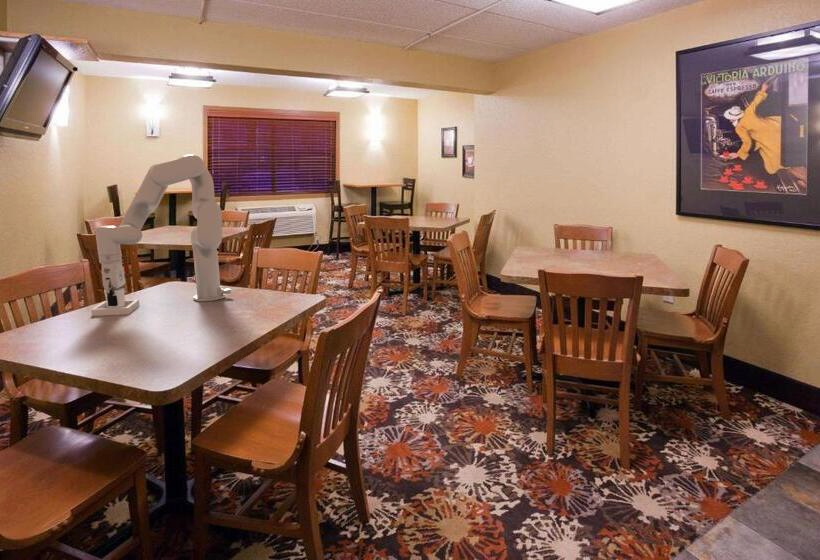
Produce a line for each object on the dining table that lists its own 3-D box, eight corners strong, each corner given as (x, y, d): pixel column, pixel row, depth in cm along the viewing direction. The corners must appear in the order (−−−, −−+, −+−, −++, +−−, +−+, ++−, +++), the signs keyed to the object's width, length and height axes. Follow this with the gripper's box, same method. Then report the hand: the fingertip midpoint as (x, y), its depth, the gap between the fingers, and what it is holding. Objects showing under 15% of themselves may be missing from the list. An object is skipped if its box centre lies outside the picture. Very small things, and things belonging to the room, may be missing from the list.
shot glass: (130, 305, 194) (127, 287, 192) (112, 309, 188) (109, 291, 187) (120, 303, 197) (118, 285, 196) (102, 306, 192) (100, 289, 190)
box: (139, 305, 200) (138, 299, 200) (129, 314, 188) (128, 307, 188) (104, 307, 198) (103, 301, 197) (91, 316, 186) (91, 309, 185)
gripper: (113, 261, 181) (119, 308, 185) (128, 254, 198) (133, 297, 202) (90, 262, 180) (97, 310, 183) (107, 255, 196) (113, 298, 200)
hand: (116, 303), depth 192 cm, fingers closed on shot glass, 6 cm apart
